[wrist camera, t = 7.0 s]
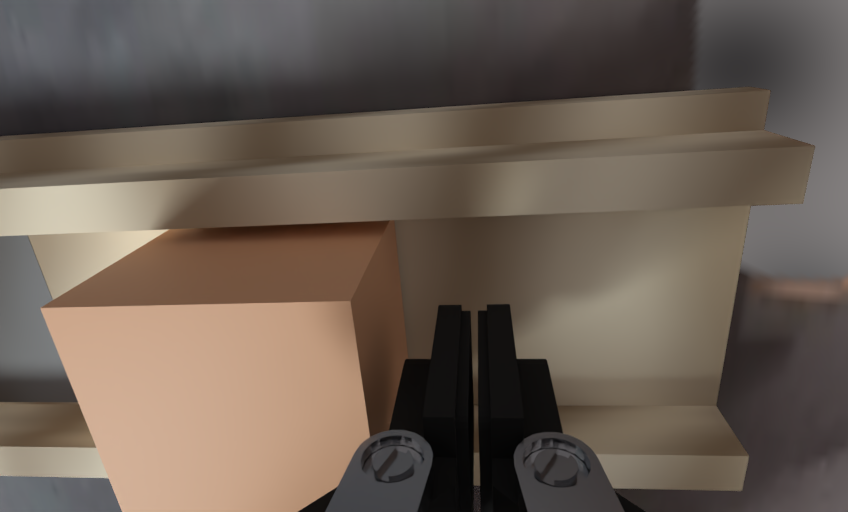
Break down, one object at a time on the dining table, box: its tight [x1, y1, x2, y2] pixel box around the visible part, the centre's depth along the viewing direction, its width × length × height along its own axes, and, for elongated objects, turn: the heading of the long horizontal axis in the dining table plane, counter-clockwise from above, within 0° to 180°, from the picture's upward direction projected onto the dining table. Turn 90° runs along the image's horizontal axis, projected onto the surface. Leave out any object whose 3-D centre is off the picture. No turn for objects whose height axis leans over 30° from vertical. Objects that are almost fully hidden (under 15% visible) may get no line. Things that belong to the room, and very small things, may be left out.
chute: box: [0, 87, 815, 491], centre depth 15 cm, size 26×11×3 cm, turn 94°
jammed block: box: [40, 220, 408, 512], centre depth 13 cm, size 6×6×5 cm
